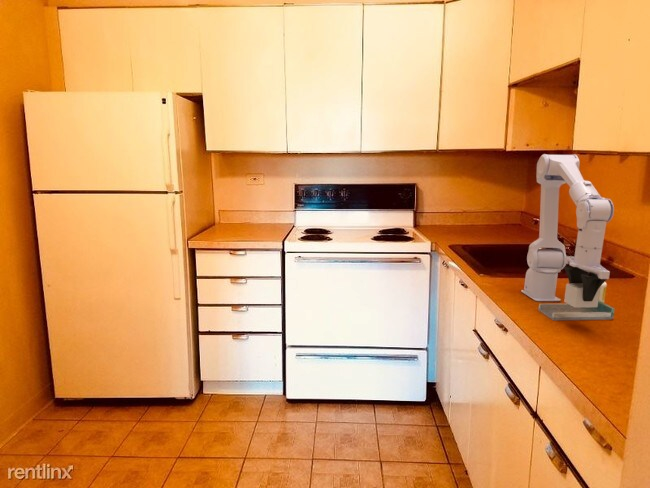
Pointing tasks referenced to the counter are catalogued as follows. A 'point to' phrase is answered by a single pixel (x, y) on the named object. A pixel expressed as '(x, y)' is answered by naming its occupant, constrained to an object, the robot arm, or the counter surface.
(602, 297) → the supplement bottle
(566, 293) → the block
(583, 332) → the counter surface
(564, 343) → the counter surface
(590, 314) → the rail plate
